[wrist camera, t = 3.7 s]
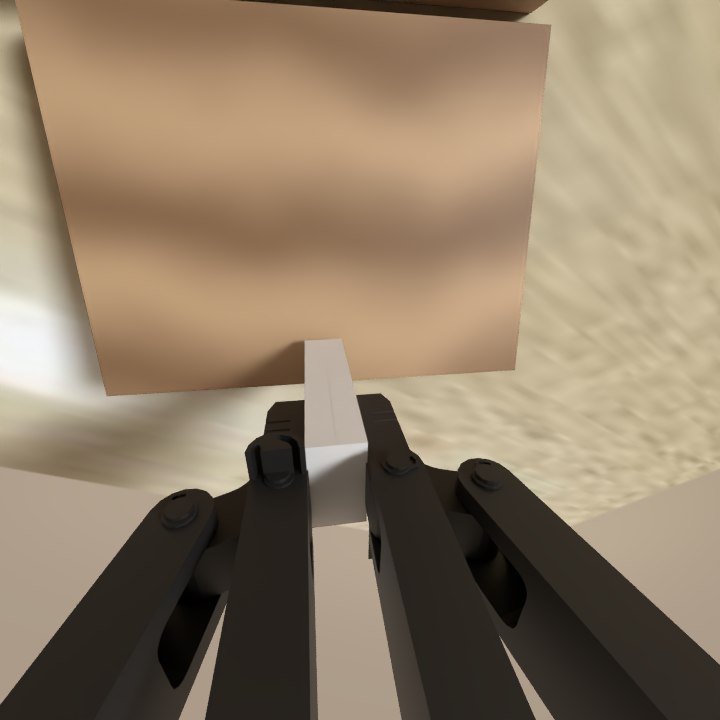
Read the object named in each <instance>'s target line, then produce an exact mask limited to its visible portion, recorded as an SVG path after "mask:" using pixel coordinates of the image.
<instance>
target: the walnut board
mask: <svg viewBox="0 0 720 720" xmlns="http://www.w3.org/2000/svg"><path fill="white" fill-rule="evenodd" d="M379 1H391V2H403V3H415V4H427V5H440V6H452V7H464V8H476V9H489V10H501V11H513V12H525V13H532V12H533V11H534V10H536V9H537V8H538V7H540V6H541V5H542V4H544V3H545V2H546V1H548V0H379Z"/></svg>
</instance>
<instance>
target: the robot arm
mask: <svg viewBox="0 0 720 720" xmlns="http://www.w3.org/2000/svg"><path fill="white" fill-rule="evenodd" d="M245 457H246V462H247V468H248V473H249V479H250V480H249V481H248V482H247V483H246V484H245V485H243V486H242V487H240V488H239V489H236V490H234V491H232V492H229V493H227V494H224V495H221V496H218V497H215V498H213V497H212V496H211V495H210V494H209V493H208V492H207V491H204V490H200V489H185V490H182V491H179V492H176V493H173V494H171V495H169V496H168V497H166V498H164V499H163V500H161V501H160V502H159V503H158V504H157V505H156V506H155V507H154V508H153V509H152V510H150V512H149V513H148V514H147V516H146V517H145V518H144V519H143V521H142V522H141V523H140V525H139V526H138V527H137V529H136V530H135V531H134V532H133V534H132V535H131V536H130V538H129V539H128V540H127V542H126V543H125V544H124V546H123V547H122V548H121V549H120V551H119V552H118V553H117V555H116V556H115V557H114V558H113V560H112V561H111V562H110V564H109V565H108V566H107V567H106V569H105V570H104V571H103V573H102V574H101V575H100V576H99V578H98V579H97V580H96V582H95V583H94V584H93V586H92V587H91V588H90V589H89V591H88V592H87V593H86V595H85V596H84V597H83V598H82V600H81V601H80V602H79V604H78V605H77V606H76V608H75V609H74V610H73V612H72V613H71V614H70V615H69V617H68V618H67V619H66V621H65V622H64V623H63V624H62V626H61V627H60V628H59V630H58V631H57V632H56V633H55V635H54V636H53V637H52V639H51V640H50V641H49V643H48V644H47V645H46V646H45V648H44V649H43V650H42V652H41V653H40V654H39V656H38V657H37V658H36V659H35V661H34V662H33V663H32V665H31V666H30V667H29V668H28V670H27V671H26V672H25V674H24V675H23V676H22V677H21V679H20V680H19V681H18V683H17V684H16V685H15V687H14V688H13V689H12V690H11V692H10V693H9V694H8V696H7V697H6V698H5V699H4V701H3V702H2V703H1V705H0V720H179V717H180V715H181V712H182V710H183V708H184V705H185V703H186V700H187V698H188V695H189V693H190V690H191V688H192V686H193V683H194V681H195V678H196V676H197V674H198V671H199V669H200V666H201V664H202V661H203V659H204V656H205V654H206V651H207V649H208V647H209V644H210V642H211V640H212V637H213V635H214V632H215V630H216V627H217V625H218V623H219V620H220V618H221V615H222V613H223V610H224V608H225V605H226V603H227V605H226V610H225V615H224V622H223V626H222V632H221V638H220V642H219V648H218V653H217V658H216V664H215V669H214V674H213V680H212V685H211V691H210V696H209V701H208V706H207V712H206V717H205V720H318V704H317V671H316V670H317V669H316V633H315V632H316V631H315V597H314V596H315V595H314V561H313V539H312V528H314V527H322V526H331V525H339V524H347V523H355V522H363V521H366V513H367V516H368V521H369V559H373V565H374V570H375V575H376V581H377V586H378V592H379V597H380V603H381V608H382V614H383V619H384V625H385V630H386V636H387V641H388V646H389V652H390V658H391V663H392V669H393V674H394V680H395V685H396V690H397V696H398V701H399V707H400V712H401V718H402V720H536V719H535V717H534V715H533V712H532V710H531V708H530V706H529V703H528V701H527V699H526V696H525V694H524V692H523V689H522V687H521V685H520V683H519V680H518V678H517V676H516V673H515V671H514V669H513V667H512V665H511V662H510V660H509V658H508V655H507V653H506V651H505V648H504V646H503V644H502V641H501V639H502V640H503V642H504V643H505V645H506V647H507V648H508V649H509V651H510V653H511V654H512V655H513V657H514V659H515V660H516V662H517V663H518V665H519V666H520V668H521V669H522V671H523V672H524V674H525V675H526V677H527V678H528V680H529V681H530V683H531V684H532V686H533V687H534V689H535V691H536V692H537V693H538V695H539V697H540V698H541V700H542V701H543V703H544V704H545V706H546V707H547V709H548V710H549V712H550V713H551V715H552V716H553V718H554V719H555V720H720V665H719V664H718V663H717V662H716V661H715V660H714V659H713V658H712V657H711V656H710V655H708V654H707V653H706V652H705V651H704V650H703V649H702V648H701V647H700V646H699V645H698V644H697V643H696V642H694V641H693V640H692V639H691V638H690V637H689V636H688V635H687V634H686V633H685V632H683V630H681V629H680V628H679V627H678V626H677V625H676V624H675V623H674V622H673V621H672V620H670V618H668V617H667V616H666V615H665V614H664V613H663V612H662V611H661V610H660V609H659V608H658V607H656V606H655V605H654V604H653V603H652V602H651V601H650V600H649V599H648V598H647V597H646V596H645V595H643V594H642V593H641V592H640V591H639V590H638V589H637V588H636V587H635V586H633V584H632V583H630V582H629V581H628V580H627V579H626V578H625V577H624V576H623V575H622V574H621V573H620V572H618V571H617V570H616V569H615V568H614V567H613V566H612V565H611V564H610V563H609V562H608V561H607V560H605V559H604V558H603V557H602V556H601V555H600V554H599V553H598V552H597V551H596V550H595V549H593V548H592V547H591V546H590V545H589V544H588V543H587V542H586V541H585V540H584V539H583V538H582V537H580V536H579V535H578V534H577V533H576V532H575V531H574V530H573V529H572V528H571V527H570V526H569V525H567V524H566V523H565V522H564V521H563V520H562V519H561V518H560V517H559V516H558V515H557V514H556V513H554V512H553V511H552V510H551V509H550V508H549V507H548V506H547V505H546V504H545V503H544V502H543V501H541V500H540V499H539V498H538V497H537V496H536V495H535V494H534V493H533V492H532V491H531V490H530V489H528V488H527V487H526V486H525V485H524V484H523V483H522V482H521V481H520V480H519V479H518V478H516V477H515V476H514V475H513V474H512V473H511V472H510V471H509V470H508V469H506V468H505V467H503V466H502V465H500V464H499V463H496V462H494V461H491V460H488V459H481V458H475V459H468V460H467V461H465V462H463V463H461V465H460V467H459V468H458V472H457V471H450V470H443V469H438V468H434V467H430V466H428V465H425V464H424V463H423V461H422V460H421V459H420V457H419V456H418V455H417V454H415V453H414V452H412V451H411V450H410V449H409V447H408V444H407V442H406V439H405V437H404V435H403V432H402V430H401V427H400V425H399V422H398V421H397V418H396V415H395V413H394V410H393V408H392V405H391V403H390V401H389V400H388V399H387V398H385V397H384V396H383V395H382V394H381V393H380V394H367V395H356V394H355V390H354V386H353V382H352V378H351V374H350V370H349V366H348V362H347V358H346V354H345V350H344V346H343V342H342V339H324V340H305V400H299V401H285V402H275V404H274V405H273V406H272V407H271V408H270V409H269V411H268V412H267V418H266V424H265V430H264V435H263V436H260V437H258V438H256V439H255V440H254V441H253V442H252V443H250V444H249V445H248V447H247V449H246V451H245ZM498 634H499V635H498ZM499 636H500V637H501V639H500V637H499Z"/></svg>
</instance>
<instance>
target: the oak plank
mask: <svg viewBox="0 0 720 720" xmlns="http://www.w3.org/2000/svg"><path fill="white" fill-rule="evenodd" d="M15 3H16V7H17V11H18V16H19V20H20V24H21V29H22V33H23V37H24V42H25V46H26V50H27V54H28V59H29V63H30V67H31V72H32V76H33V80H34V85H35V89H36V93H37V98H38V102H39V106H40V110H41V115H42V119H43V123H44V128H45V132H46V136H47V141H48V145H49V149H50V153H51V158H52V162H53V166H54V171H55V175H56V179H57V184H58V188H59V192H60V197H61V201H62V205H63V209H64V214H65V218H66V222H67V227H68V231H69V235H70V240H71V244H72V248H73V252H74V257H75V261H76V265H77V270H78V274H79V278H80V283H81V287H82V291H83V296H84V300H85V304H86V308H87V313H88V317H89V321H90V326H91V330H92V334H93V339H94V343H95V347H96V351H97V356H98V360H99V364H100V369H101V373H102V377H103V382H104V386H105V390H106V395H107V396H117V395H132V394H148V393H164V392H179V391H195V390H210V389H226V388H242V387H257V386H273V385H288V384H304V383H305V340H324V339H342V342H343V346H344V350H345V354H346V358H347V362H348V366H349V370H350V374H351V378H352V380H366V379H382V378H397V377H413V376H429V375H444V374H460V373H475V372H491V371H507V370H515V362H516V352H517V343H518V334H519V324H520V315H521V305H522V296H523V286H524V277H525V267H526V258H527V248H528V239H529V229H530V220H531V211H532V201H533V192H534V182H535V173H536V163H537V154H538V144H539V135H540V125H541V116H542V106H543V97H544V87H545V78H546V69H547V59H548V50H549V40H550V31H551V25H546V24H533V23H520V22H507V21H494V20H481V19H468V18H455V17H442V16H430V15H417V14H404V13H391V12H378V11H365V10H352V9H339V8H327V7H314V6H301V5H288V4H275V3H262V2H249V1H236V0H15Z"/></svg>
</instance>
